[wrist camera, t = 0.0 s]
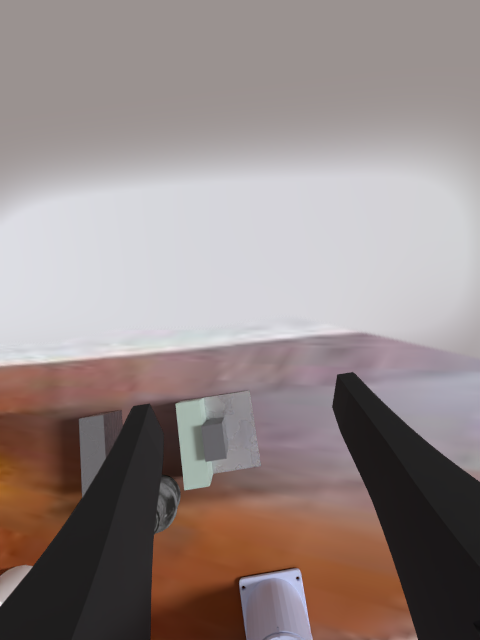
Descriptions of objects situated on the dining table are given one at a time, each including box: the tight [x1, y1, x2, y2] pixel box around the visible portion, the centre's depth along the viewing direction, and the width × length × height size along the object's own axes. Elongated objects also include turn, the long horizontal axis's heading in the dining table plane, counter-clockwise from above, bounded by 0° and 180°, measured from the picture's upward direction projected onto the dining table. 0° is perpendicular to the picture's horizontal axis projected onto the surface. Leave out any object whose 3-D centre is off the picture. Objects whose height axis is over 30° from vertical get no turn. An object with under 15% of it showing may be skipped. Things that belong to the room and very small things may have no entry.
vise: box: [79, 391, 261, 497], centre depth 39 cm, size 10×22×6 cm, turn 99°
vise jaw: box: [176, 398, 228, 490], centre depth 38 cm, size 10×6×6 cm, turn 9°
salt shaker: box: [154, 475, 180, 534], centre depth 34 cm, size 6×6×12 cm
